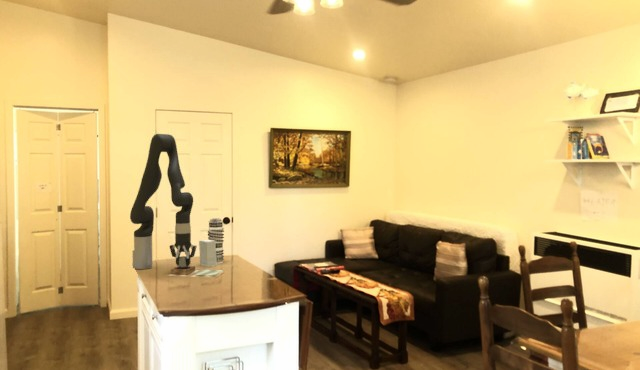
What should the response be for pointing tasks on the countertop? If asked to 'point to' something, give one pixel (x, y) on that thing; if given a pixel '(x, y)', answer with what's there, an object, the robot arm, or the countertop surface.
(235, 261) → the countertop surface
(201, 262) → the skincare box
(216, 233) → the decorative candle
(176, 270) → the caddy
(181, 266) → the end cover
